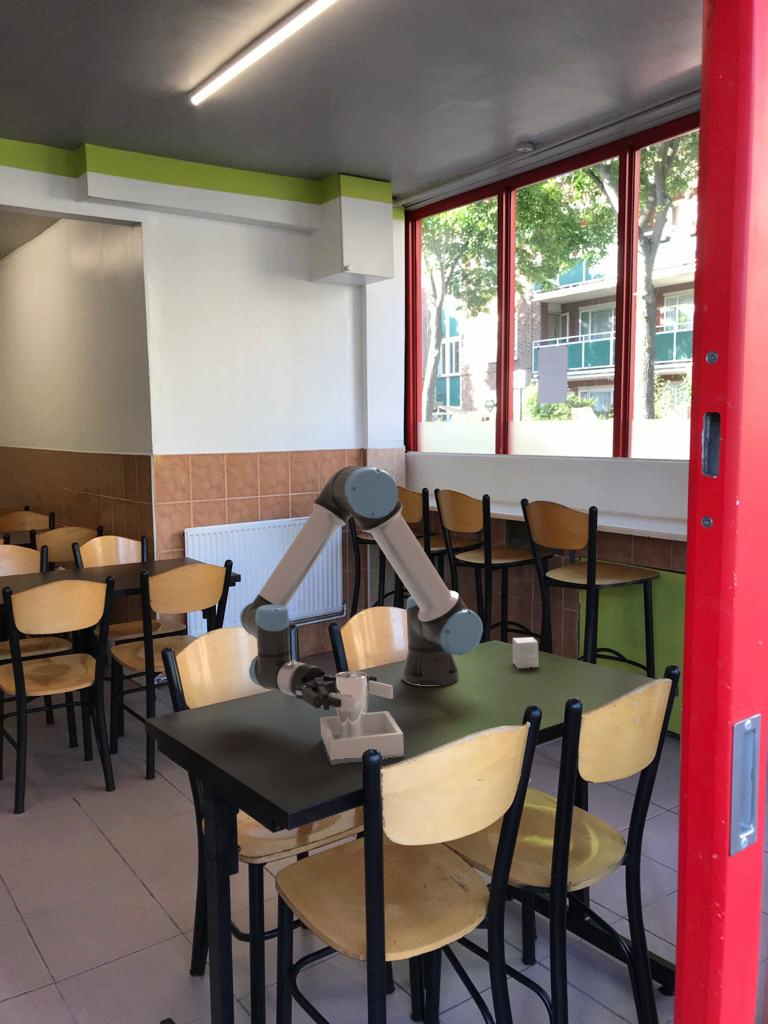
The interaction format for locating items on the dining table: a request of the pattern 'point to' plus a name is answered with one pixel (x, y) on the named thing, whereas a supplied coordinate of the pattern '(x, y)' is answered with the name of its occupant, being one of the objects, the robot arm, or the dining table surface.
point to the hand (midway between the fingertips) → (373, 698)
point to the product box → (525, 652)
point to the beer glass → (356, 688)
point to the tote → (364, 737)
